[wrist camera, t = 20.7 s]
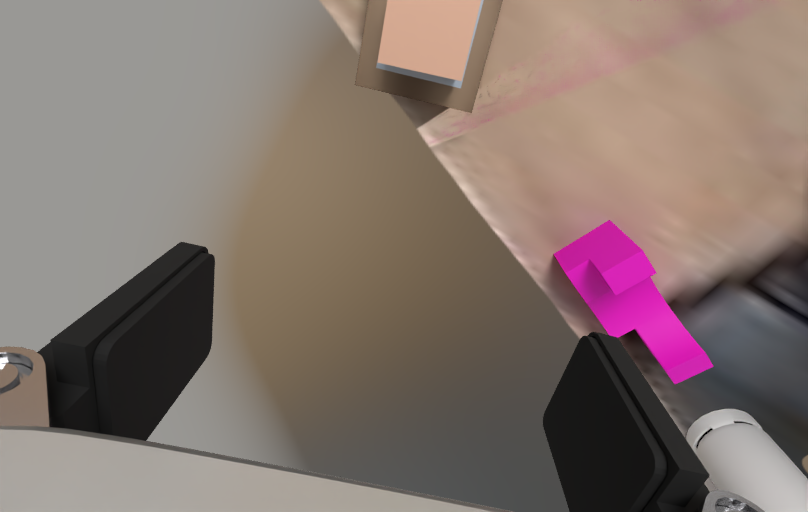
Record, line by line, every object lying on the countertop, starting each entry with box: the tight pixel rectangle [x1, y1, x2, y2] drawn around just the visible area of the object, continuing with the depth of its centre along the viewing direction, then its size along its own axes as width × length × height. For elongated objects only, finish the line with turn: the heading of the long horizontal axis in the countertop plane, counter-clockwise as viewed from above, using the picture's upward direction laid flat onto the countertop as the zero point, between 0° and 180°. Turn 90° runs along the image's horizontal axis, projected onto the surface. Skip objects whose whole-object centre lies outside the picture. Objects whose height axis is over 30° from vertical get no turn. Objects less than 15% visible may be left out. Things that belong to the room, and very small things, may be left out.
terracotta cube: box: [378, 0, 481, 81], centre depth 26 cm, size 5×5×5 cm
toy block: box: [554, 220, 713, 384], centre depth 43 cm, size 15×6×8 cm, turn 38°
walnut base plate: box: [355, 0, 503, 113], centre depth 35 cm, size 10×10×3 cm
